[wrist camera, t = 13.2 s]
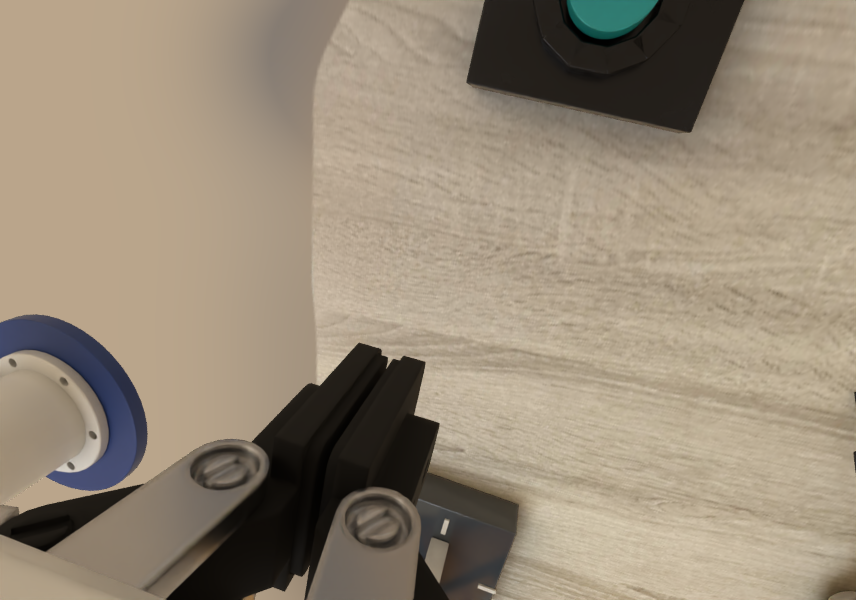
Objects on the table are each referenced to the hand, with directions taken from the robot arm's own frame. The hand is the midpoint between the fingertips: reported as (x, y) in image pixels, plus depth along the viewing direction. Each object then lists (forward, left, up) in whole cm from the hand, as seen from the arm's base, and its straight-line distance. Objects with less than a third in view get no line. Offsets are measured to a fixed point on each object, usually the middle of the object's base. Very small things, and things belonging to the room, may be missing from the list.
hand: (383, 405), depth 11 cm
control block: (+3, +14, -21) cm, 25 cm away
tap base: (+3, -25, -21) cm, 33 cm away
